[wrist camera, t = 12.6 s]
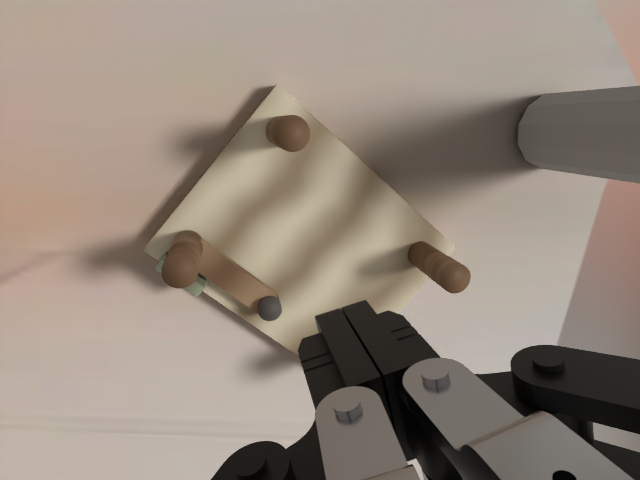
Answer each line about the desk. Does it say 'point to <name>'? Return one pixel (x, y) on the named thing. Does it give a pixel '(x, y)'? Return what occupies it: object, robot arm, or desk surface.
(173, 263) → the swing leg
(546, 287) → the desk surface
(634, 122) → the water bottle
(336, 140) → the stool frame
